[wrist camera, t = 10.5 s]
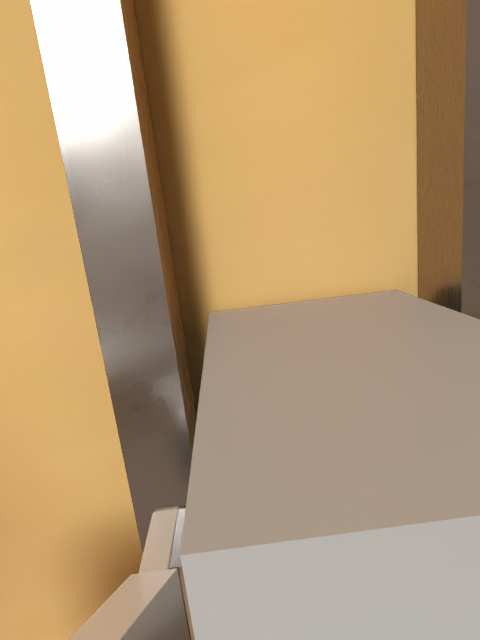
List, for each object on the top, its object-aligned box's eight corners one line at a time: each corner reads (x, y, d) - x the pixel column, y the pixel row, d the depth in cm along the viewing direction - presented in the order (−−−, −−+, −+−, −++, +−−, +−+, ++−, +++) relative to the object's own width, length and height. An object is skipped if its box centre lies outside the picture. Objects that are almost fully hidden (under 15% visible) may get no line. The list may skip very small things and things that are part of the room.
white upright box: (396, 289, 11) (877, 462, 3) (401, 541, 12) (703, 1062, 5) (209, 312, 11) (180, 556, 3) (242, 563, 12) (282, 1131, 5)
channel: (487, -164, 9) (828, -661, 4) (468, 574, 13) (612, 777, 8) (38, -121, 8) (-207, -588, 4) (176, 614, 13) (151, 845, 8)
